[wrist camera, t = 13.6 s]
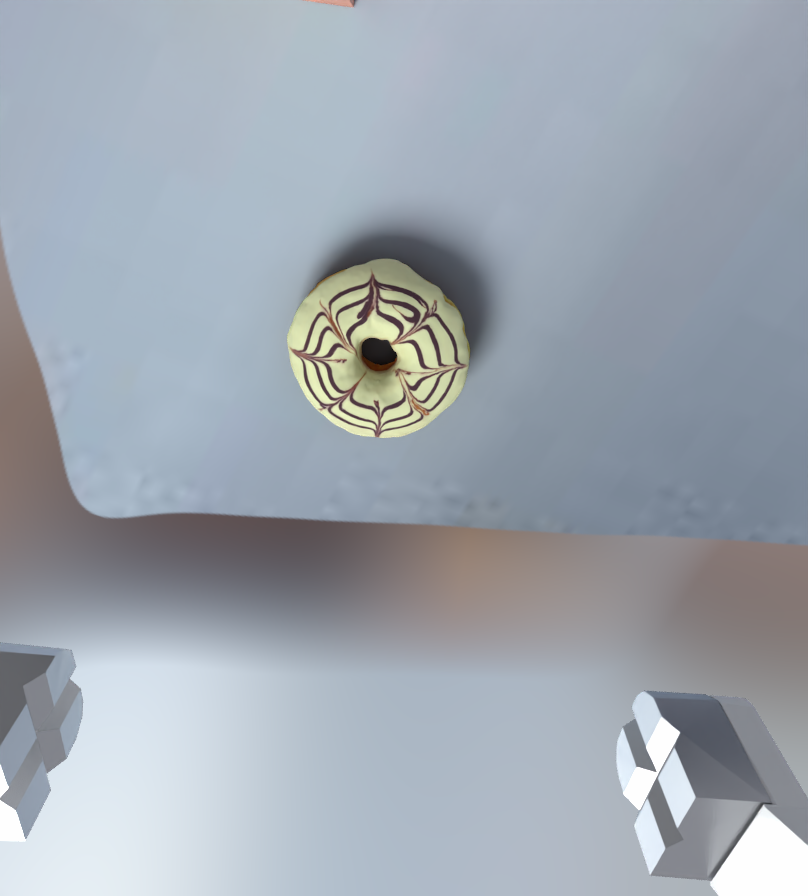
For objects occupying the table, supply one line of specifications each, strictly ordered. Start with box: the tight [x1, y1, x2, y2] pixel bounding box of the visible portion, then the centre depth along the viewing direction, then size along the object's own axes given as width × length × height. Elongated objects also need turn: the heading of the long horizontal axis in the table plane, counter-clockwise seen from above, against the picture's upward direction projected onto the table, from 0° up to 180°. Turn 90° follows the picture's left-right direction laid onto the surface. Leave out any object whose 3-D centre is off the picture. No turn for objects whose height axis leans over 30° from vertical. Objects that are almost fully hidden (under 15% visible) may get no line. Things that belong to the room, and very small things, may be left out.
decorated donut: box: [287, 259, 470, 438], centre depth 38 cm, size 10×11×4 cm
